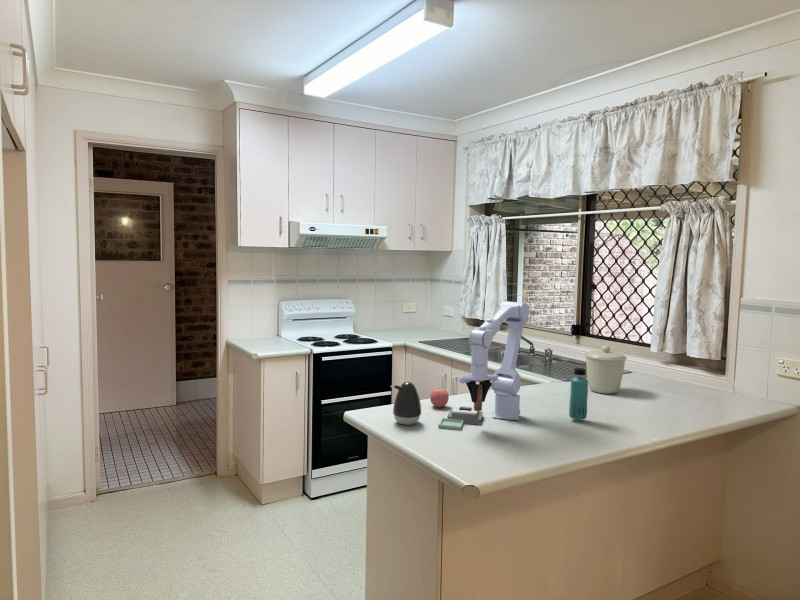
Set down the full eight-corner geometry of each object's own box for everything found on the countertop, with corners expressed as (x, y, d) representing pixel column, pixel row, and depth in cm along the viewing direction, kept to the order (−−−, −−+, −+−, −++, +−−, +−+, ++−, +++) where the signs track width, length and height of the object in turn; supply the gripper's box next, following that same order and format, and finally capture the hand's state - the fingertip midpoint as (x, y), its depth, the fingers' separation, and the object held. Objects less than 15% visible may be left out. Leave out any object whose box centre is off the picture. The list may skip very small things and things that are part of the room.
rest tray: (463, 423, 205) (463, 420, 204) (460, 430, 197) (460, 426, 197) (441, 421, 206) (441, 418, 206) (438, 427, 199) (438, 424, 198)
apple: (447, 410, 220) (447, 390, 220) (428, 408, 222) (429, 389, 221) (449, 405, 228) (449, 385, 227) (431, 403, 229) (431, 384, 228)
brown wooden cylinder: (482, 409, 199) (483, 384, 198) (481, 411, 196) (482, 386, 195) (474, 408, 200) (475, 383, 199) (473, 410, 197) (474, 385, 196)
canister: (628, 390, 258) (631, 345, 256) (620, 398, 243) (623, 351, 241) (588, 384, 268) (590, 340, 266) (578, 392, 253) (580, 346, 251)
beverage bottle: (577, 424, 206) (580, 371, 204) (564, 419, 212) (567, 367, 210) (590, 422, 209) (593, 369, 207) (577, 417, 215) (580, 366, 213)
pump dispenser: (388, 420, 206) (388, 379, 204) (413, 417, 210) (414, 377, 209) (398, 428, 197) (399, 386, 195) (425, 425, 201) (426, 384, 199)
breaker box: (482, 416, 213) (482, 406, 212) (480, 424, 203) (480, 414, 203) (451, 413, 216) (451, 403, 215) (447, 421, 206) (447, 411, 206)
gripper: (491, 360, 203) (490, 397, 204) (455, 362, 198) (454, 400, 199) (501, 364, 196) (500, 402, 197) (464, 366, 191) (463, 405, 192)
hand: (478, 401), depth 198 cm, fingers closed on brown wooden cylinder, 3 cm apart
